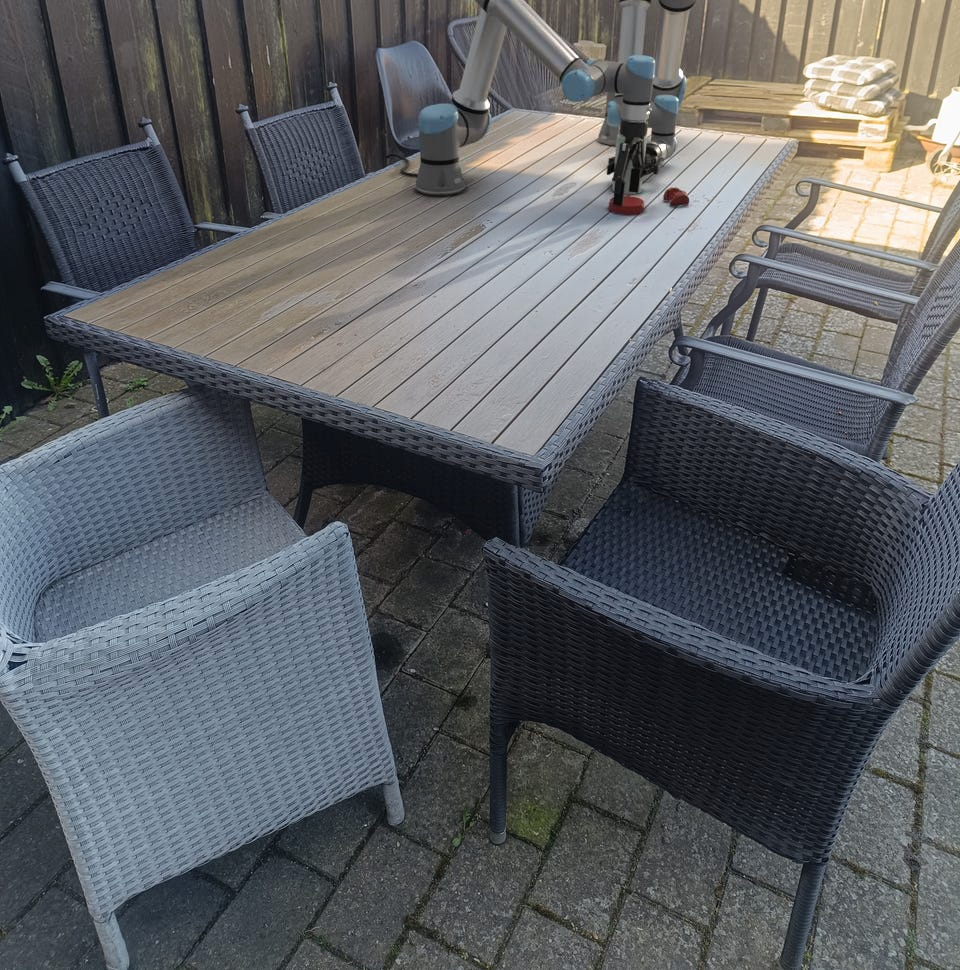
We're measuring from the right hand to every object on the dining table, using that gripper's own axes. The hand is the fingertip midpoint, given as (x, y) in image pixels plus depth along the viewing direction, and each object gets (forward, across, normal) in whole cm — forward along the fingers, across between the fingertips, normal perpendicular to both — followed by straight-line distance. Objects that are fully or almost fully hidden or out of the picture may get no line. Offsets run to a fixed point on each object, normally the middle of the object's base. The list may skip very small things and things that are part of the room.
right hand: (622, 172), depth 251 cm
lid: (+13, -7, -4) cm, 15 cm away
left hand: (+13, -7, -3) cm, 15 cm away
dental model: (0, -17, -6) cm, 19 cm away
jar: (-5, 0, -6) cm, 8 cm away
